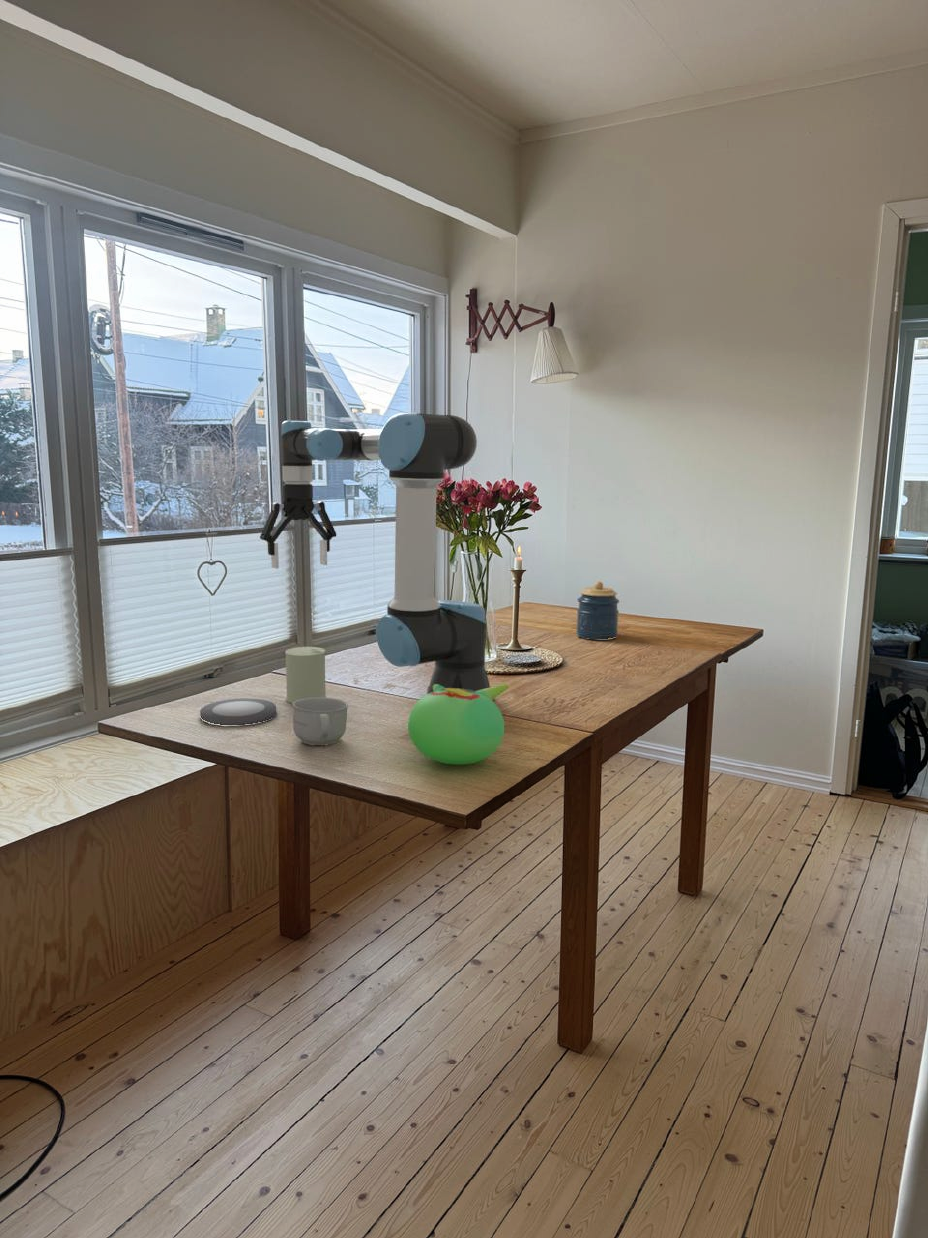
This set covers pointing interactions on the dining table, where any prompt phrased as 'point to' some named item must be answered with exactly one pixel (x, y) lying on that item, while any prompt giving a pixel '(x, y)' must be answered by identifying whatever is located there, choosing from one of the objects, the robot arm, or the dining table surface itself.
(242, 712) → the pad
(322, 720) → the teacup
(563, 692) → the dining table surface
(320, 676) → the can
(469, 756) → the green round lump
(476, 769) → the dining table surface
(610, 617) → the canister
